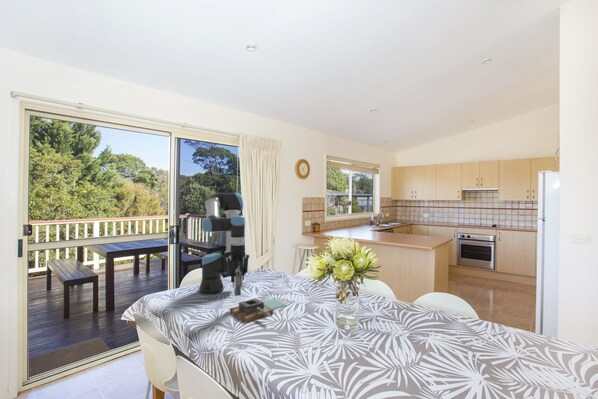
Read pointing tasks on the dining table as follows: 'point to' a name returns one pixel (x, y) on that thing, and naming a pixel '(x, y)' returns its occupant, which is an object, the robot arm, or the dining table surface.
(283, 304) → the mat
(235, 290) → the key
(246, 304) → the block
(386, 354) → the dining table surface
